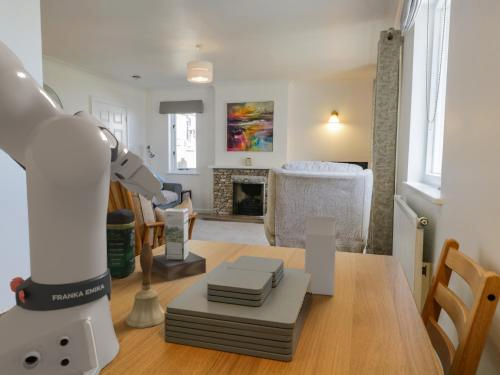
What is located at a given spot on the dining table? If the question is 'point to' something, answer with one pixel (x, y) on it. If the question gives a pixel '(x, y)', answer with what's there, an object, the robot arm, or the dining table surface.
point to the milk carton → (320, 253)
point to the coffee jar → (120, 242)
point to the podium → (178, 266)
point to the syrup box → (176, 233)
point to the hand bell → (146, 296)
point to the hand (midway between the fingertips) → (157, 200)
